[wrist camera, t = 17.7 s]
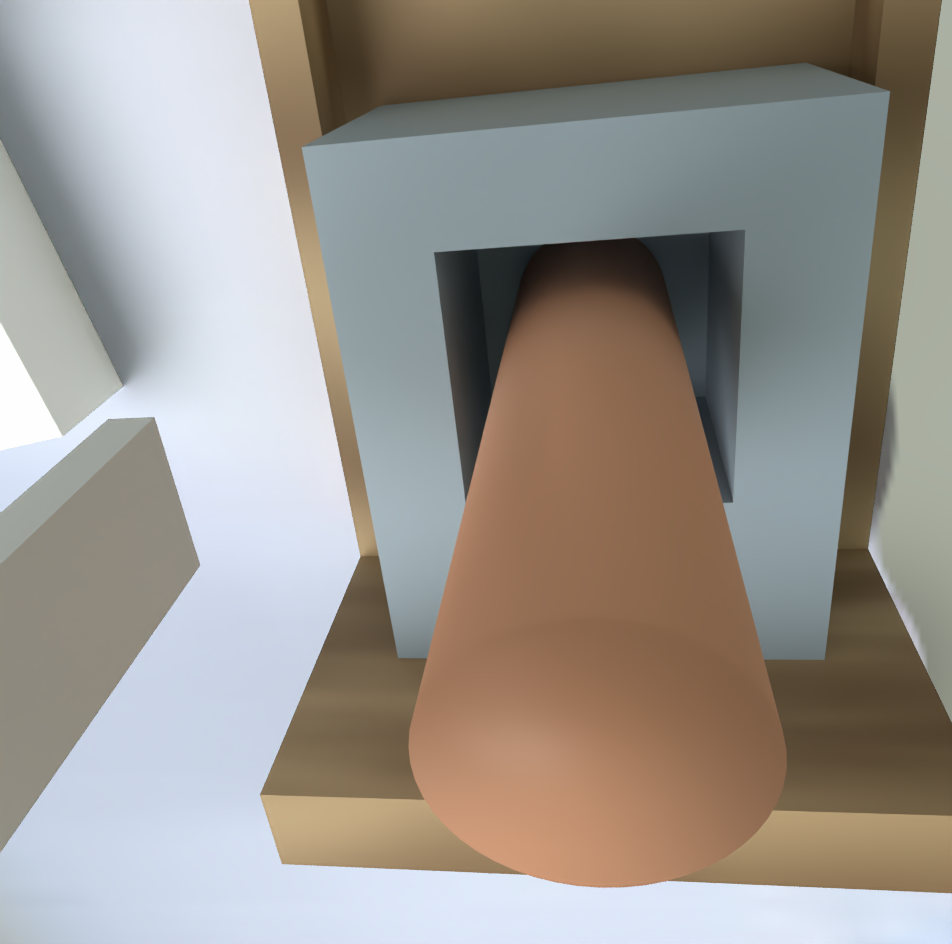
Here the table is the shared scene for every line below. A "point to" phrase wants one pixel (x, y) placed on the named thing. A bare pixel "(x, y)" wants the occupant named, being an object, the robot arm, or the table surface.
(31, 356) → the bracket
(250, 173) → the table surface
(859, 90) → the block
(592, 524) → the dowel
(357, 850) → the tray
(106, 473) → the robot arm
